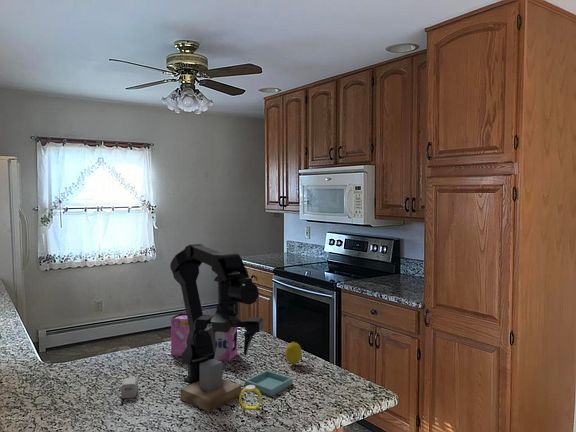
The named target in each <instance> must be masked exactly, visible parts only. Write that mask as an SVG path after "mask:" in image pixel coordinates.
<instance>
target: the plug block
mask: <svg viewBox="0 0 576 432" xmlns="http://www.w3.org/2000/svg"><path fill="white" fill-rule="evenodd" d="M222 379H223V361H222V360H215V359H211V360H208V361H206V362H203V363H201V364H200V389H203V390H205V391H208V392H211V391H213V390H215V389H217V388H219V387H222Z"/></svg>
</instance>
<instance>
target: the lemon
mask: <svg viewBox="0 0 576 432" xmlns="http://www.w3.org/2000/svg"><path fill="white" fill-rule="evenodd" d="M284 353H285V359H286V361H287V362H288V363H290V364H291V365H292V366H295V365H296V364H297V363H300V361H301V359H302V356H303V355H302V354H303V352H302V347H301V345H300V344H299V343H297V342H295V341H292V342H290V343H288V344H287V346H286V347H285V351H284Z"/></svg>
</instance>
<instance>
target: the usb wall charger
mask: <svg viewBox="0 0 576 432" xmlns="http://www.w3.org/2000/svg"><path fill="white" fill-rule="evenodd" d="M138 379H139V378H138V377H126V378H124V379H123V381H122V383H121V386H120V397H121V399H130V398H131V399H132V398H133V399H134V398H135V397H136V396H137V393H138V391H139V390H138V389H139V380H138Z"/></svg>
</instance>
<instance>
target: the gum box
mask: <svg viewBox="0 0 576 432" xmlns="http://www.w3.org/2000/svg"><path fill="white" fill-rule="evenodd" d="M203 316H214V314H213V315H212V314H203ZM238 328H239V327H231V328H230V331H229V332H226V333H224V332H215V338H216V352H215V356H214V359H215V360H218V361H222V362H224V361H225V362H230V361H231V360H232V359H233V358H234V357H235V356H236V355H238ZM189 332H190V329H189V324H188V319H187V314H186V312H179V313H178V314H176V315H174V316H172V317H170V336H171V337H170V339H171V340H170V344H171V345H170V346H171V348H170V355H171V356H177V357H182V353H183V352H184V350H185V349H186V348H187V342H186V340H187V337H188V335H189Z"/></svg>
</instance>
